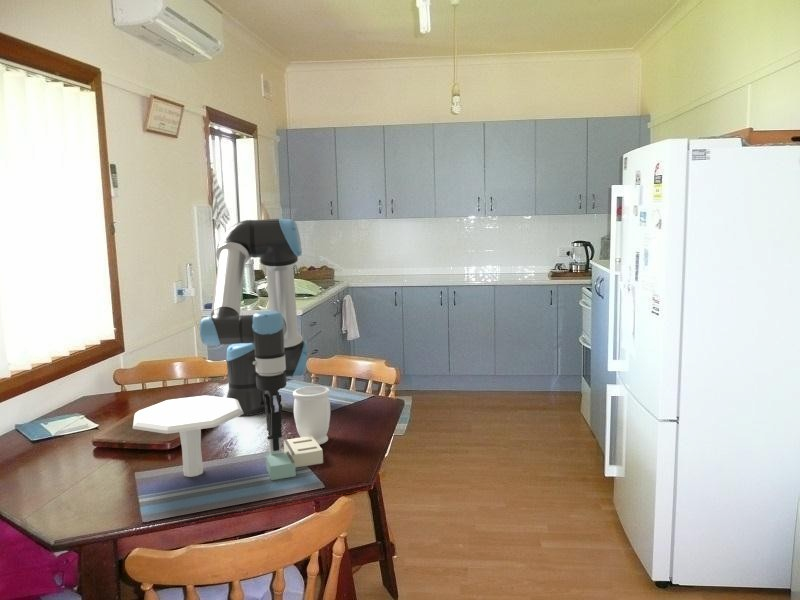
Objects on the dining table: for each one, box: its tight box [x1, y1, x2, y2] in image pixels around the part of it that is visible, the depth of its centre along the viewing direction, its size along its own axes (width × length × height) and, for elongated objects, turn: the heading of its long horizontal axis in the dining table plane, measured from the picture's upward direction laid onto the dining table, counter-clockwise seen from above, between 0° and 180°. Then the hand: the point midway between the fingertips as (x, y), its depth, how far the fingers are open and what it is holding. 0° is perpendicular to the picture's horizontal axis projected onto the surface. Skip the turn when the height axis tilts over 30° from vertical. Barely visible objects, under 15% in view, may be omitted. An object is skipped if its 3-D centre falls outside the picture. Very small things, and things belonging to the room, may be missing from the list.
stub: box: [265, 451, 297, 481], centre depth 161 cm, size 8×6×4 cm
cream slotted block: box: [283, 436, 324, 469], centre depth 170 cm, size 12×8×4 cm, turn 21°
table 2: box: [132, 394, 244, 478], centre depth 161 cm, size 28×28×17 cm
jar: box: [292, 385, 331, 446], centre depth 182 cm, size 11×10×15 cm
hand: (276, 460), depth 165 cm, fingers closed
